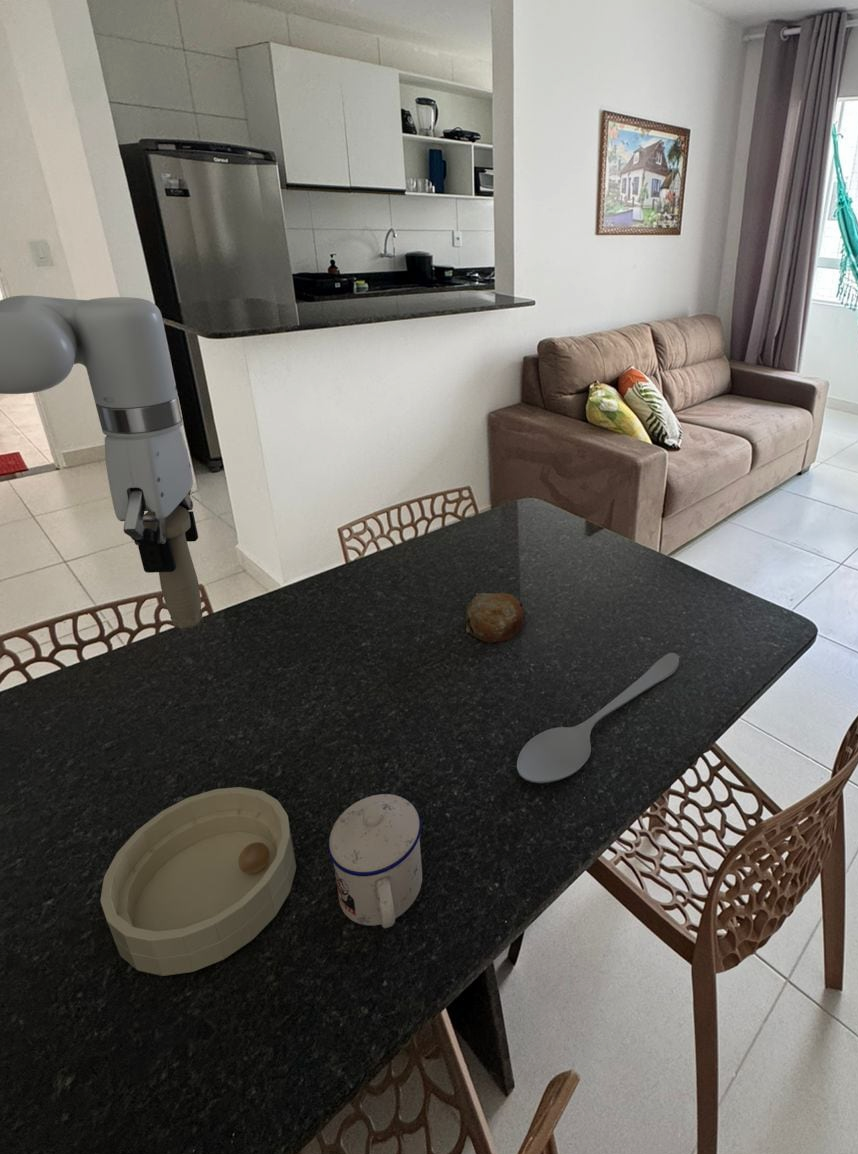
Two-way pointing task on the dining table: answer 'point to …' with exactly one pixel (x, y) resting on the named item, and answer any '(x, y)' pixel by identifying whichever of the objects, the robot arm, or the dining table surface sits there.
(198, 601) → the handle
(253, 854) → the egg
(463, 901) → the dining table surface
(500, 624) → the bread roll
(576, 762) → the spoon
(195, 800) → the bowl
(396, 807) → the teacup with lid
